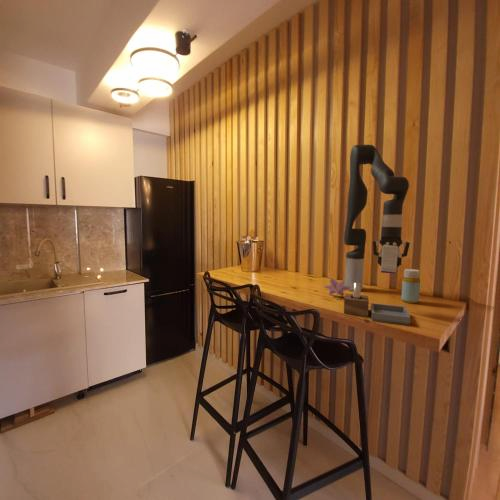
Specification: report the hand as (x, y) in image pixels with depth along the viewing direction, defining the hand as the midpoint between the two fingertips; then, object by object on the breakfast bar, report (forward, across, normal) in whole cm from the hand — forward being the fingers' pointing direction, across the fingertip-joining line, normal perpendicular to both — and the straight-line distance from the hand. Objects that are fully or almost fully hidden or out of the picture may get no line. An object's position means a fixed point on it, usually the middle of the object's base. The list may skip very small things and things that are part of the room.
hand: (389, 265), depth 115 cm
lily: (+19, -21, +10) cm, 30 cm away
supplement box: (+3, 0, 0) cm, 3 cm away
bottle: (+19, +11, +16) cm, 27 cm away
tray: (+19, 0, -11) cm, 22 cm away
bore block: (+19, -12, -9) cm, 24 cm away
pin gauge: (+19, -12, -9) cm, 24 cm away
